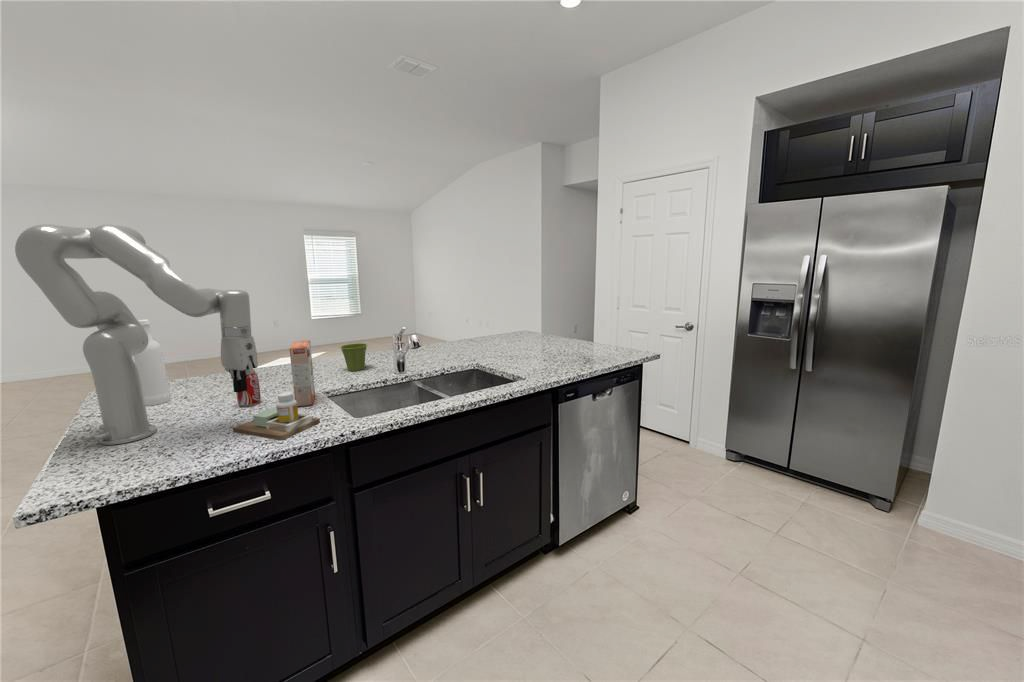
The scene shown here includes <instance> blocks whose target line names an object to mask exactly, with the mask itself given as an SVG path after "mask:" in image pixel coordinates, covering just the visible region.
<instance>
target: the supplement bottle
mask: <svg viewBox="0 0 1024 682" xmlns="http://www.w3.org/2000/svg"><path fill="white" fill-rule="evenodd" d="M277 400H278V401H276V403H275V407H276V408H277V415H278V423H284V424H290V423H292V422H294V421H297V420H299V417H298V414H299V410H298V407H297V402H296V400H295V398H294V392H293V391H292V392H291V391H285V392H281V393H279V394H277Z"/></svg>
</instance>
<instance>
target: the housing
mask: <svg viewBox="0 0 1024 682" xmlns="http://www.w3.org/2000/svg"><path fill="white" fill-rule="evenodd" d="M275 416H277V408H276V406H274V407H272V408H269V409H267V410H263V411H261V412H258V413H256V414H254V415H252V419H253V420H254V425H255V426H261V427H266V422H268V421H270V420H272V419H273V417H275Z"/></svg>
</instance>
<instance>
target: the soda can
mask: <svg viewBox="0 0 1024 682" xmlns="http://www.w3.org/2000/svg"><path fill="white" fill-rule="evenodd" d="M253 371H254V373H253V374H250V375H248V378H247V391H243V392H239V393H237V392H235V394H236V400H237V403H238V405H239V406H241V407H244V408H245V407H253V406H256V405H258V403H260V402H261V399H262V398H261V388H260V380H259V376H258V375H259V374H258V373H257V372H256V370H255V368H253Z"/></svg>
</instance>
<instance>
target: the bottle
mask: <svg viewBox="0 0 1024 682" xmlns="http://www.w3.org/2000/svg"><path fill="white" fill-rule="evenodd" d="M137 320H138V322H139V323H140V324H141V326H142V327H143V328H144V330H145V331H146V333H147V335H148V340H149V342H148V346H147V347H146V349H145V350H144V351H143V352H141V353H139V354H137V355H134V356H133V357H134V359H133V360H134V363H135V365H136V367H137V369H138V372H139V375H140V380H141V385H142V390H143V396H144V401H145V406H146V407H149V406H151V407H152V406H158V405H162V404H166V403H168V402H170V401H171V392H170V388H169V384H168V383H169V382H168V377H167V371H166V370H167V369H166V365H165V361H164V354H163V349H162V346H161V344H160V343H159V342H158V341H157V340H154V339H153V334H152V330H151V323H150V320H149V319H137Z"/></svg>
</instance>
